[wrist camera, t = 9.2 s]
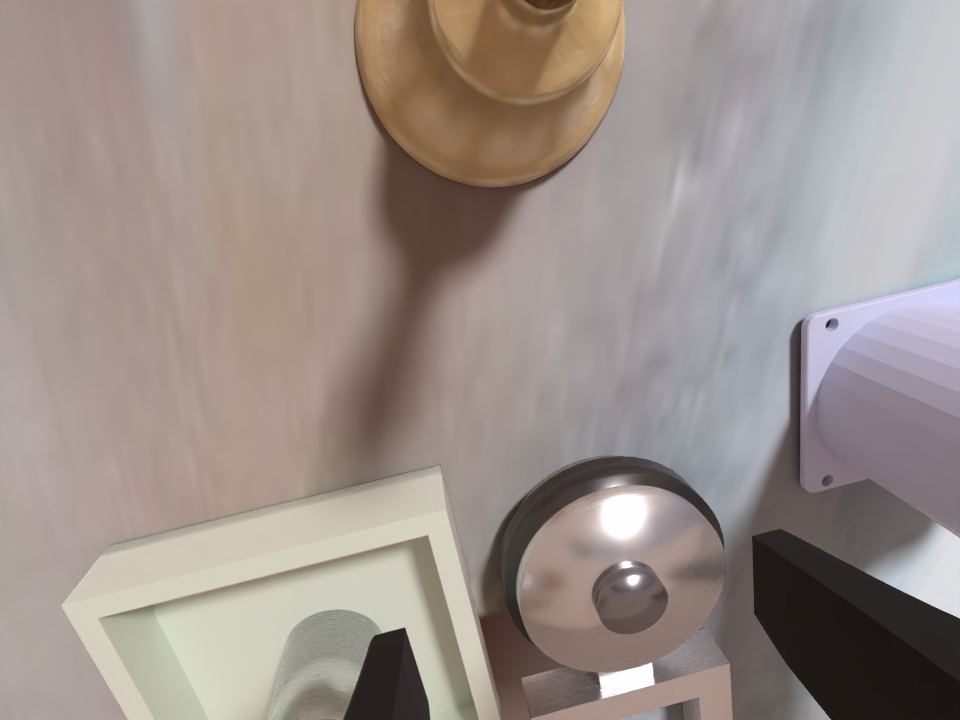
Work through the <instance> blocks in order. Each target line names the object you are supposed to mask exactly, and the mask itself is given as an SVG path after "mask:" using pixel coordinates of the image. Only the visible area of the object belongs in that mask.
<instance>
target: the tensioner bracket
mask: <svg viewBox="0 0 960 720" xmlns="http://www.w3.org/2000/svg"><path fill="white" fill-rule="evenodd" d="M499 569H500V576H501V581H502V585H503V589H504V593H505V597H506V601H507V605H508V608H509V611H510V615H511V617H512V619H513V621H514V623H515V625H516V626H517V628H518V629H519V630H520V632H521V633H522V634H523V635H524V636H525V637H526V638H527V639H528V640H529V641H530V642H531V643H532V644H533V645H535V646H536V647H538V648H539V649H540V650H541V651H542V652H543V653H544V654H545V655H547V656H548V657H550V658H551V659H552V660H554V661H556V662H558V663H560V664H562V665H564V667H560V668H557V669H553V670H549V671H546V672H542V673H538V674H535V675H531V676H527V677H523V678H521V680H522V684H523V689H524V693H525V698H526V702H527V706H528V711H529V715H530V719H531V720H619V719H622V718H626V717H630V716H633V715H637V714H640V713H644V712H647V711H651V710H655V709H658V708H662V707H665V706H669V705H672V704H676V703H680V702H682V709H683V719H684V720H733V715H732V695H731V675H730V663H729V661H728V660H727V658H726V657H725V655H724V654H723V652H722V651H721V649H720V648H719V646H718V645H717V643H716V642H715V640H714V639H713V638H712V636H711V635H710V633H709V632H708V630H707V629H706V628H703V629H700V628H701V627H702V625H703V624H704V623H705V622H706V620H707V619H708V618H709V616H710V615H711V613H712V612H713V610H714V608H715V607H716V604H717V602H718V600H719V598H720V596H721V592H722V589H723V586H724V581H725V576H726V559H725V552H724V541H723V534H722V531H721V528H720V524H719V522H718V520H717V518H716V516H715V514H714V513H713V511H712V510H711V509H710V507H709V506H708V504H707V503H706V502H705V501H704V500H703V499H702V498H701V497H700V496H699V495H698V494H697V493H696V491H695V490H694V489H693V488H692V487H691V486H690V485H689V484H688V483H687V482H686V481H685V480H684V479H683V478H682V477H681V476H680V475H678V474H677V473H675V472H674V471H673V470H671V469H669V468H667V467H665V466H663V465H661V464H659V463H656V462H653V461H650V460H647V459H641V458H636V457H624V456H599V457H593V458H588V459H584V460H581V461H578V462H574V463H572V464H570V465H567V466H565V467H563V468H561V469H559V470H557V471H556V472H554V473H552V474H550V475H549V476H548V477H546V478H545V479H544V480H542V481H541V482H540V483H539V484H538V485H536V486H535V487H534V488H533V489H532V490H531V491H530V492H529V493H528V495H527V496H526V497H525V498H524V499H523V501H522V502H521V504H520V505H519V507H518V508H517V510H516V512H515V514H514V516H513V517H512V519H511V521H510V523H509V525H508V527H507V529H506V531H505V534H504V537H503V540H502V543H501V549H500V555H499ZM699 629H700V630H699Z"/></svg>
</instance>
